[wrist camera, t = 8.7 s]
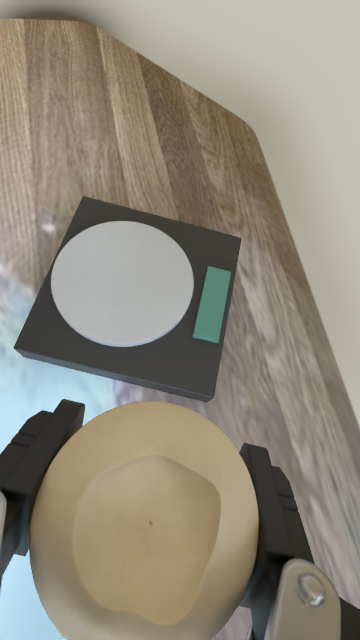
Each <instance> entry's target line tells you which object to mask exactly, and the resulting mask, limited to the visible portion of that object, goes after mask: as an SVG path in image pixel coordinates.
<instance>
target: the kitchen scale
mask: <svg viewBox="0 0 360 640" xmlns="http://www.w3.org/2000/svg"><path fill="white" fill-rule="evenodd" d="M240 244H241V238H239V237H236V236H232V235H228V234H224V233H220V232H217V231H213V230H209V229H205V228H202V227H198V226H194V225H190V224H186V223H183V222H179V221H175V220H171V219H168V218H164V217H160V216H156V215H153V214H149V213H145V212H141V211H137V210H134V209H130V208H126V207H122V206H119V205H115V204H111V203H107V202H103V201H100V200H96V199H92V198H88V197H85V196H83V198H82V200H81V202H80V204H79V207H78V209H77V211H76V213H75V215H74V217H73V220H72V222H71V224H70V226H69V228H68V231H67V233H66V235H65V237H64V239H63V241H62V244H61V246H60V248H59V250H58V252H57V254H56V257H55V259H54V261H53V263H52V265H51V268H50V270H49V272H48V274H47V276H46V278H45V281H44V283H43V285H42V287H41V289H40V291H39V294H38V296H37V298H36V300H35V302H34V305H33V307H32V309H31V311H30V313H29V315H28V318H27V320H26V322H25V324H24V326H23V329H22V331H21V333H20V335H19V337H18V339H17V342H16V344H15V346H14V349H15V350H16V351H18V352H19V353H20V354H21V355H22V356H23V357H27V358H31V359H35V360H39V361H43V362H47V363H51V364H55V365H59V366H63V367H67V368H71V369H75V370H79V371H83V372H87V373H91V374H95V375H99V376H103V377H107V378H111V379H115V380H119V381H123V382H127V383H131V384H135V385H139V386H144V387H148V388H152V389H156V390H160V391H164V392H168V393H172V394H176V395H180V396H184V397H188V398H192V399H196V400H200V401H204V402H208V401H210V400H211V399H212V398H213V397H214V393H215V387H216V381H217V375H218V370H219V364H220V358H221V352H222V347H223V341H224V335H225V330H226V324H227V318H228V312H229V307H230V301H231V295H232V289H233V284H234V278H235V272H236V266H237V261H238V255H239V249H240Z"/></svg>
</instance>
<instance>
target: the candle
mask: <svg viewBox="0 0 360 640" xmlns="http://www.w3.org/2000/svg"><path fill="white" fill-rule="evenodd" d="M258 537H259V515H258V505H257V500H256V494H255V490H254V486H253V483H252V480H251V477H250V474H249V472H248V470H247V467H246V465H245V463H244V461H243V459H242V457H241V456H240V454H239V452H238V450H237V449H236V447H235V446H234V445H233V444H232V442H231V441H230V440H229V438H228V437H227V436H226V435H225V434H224V433H223V432H222V431H221V430H220V429H219V428H218V427H217V426H216V425H215V424H213V423H212V422H211V421H210V420H208V419H207V418H205V417H203V416H202V415H200V414H199V413H197V412H195V411H193V410H190V409H188V408H186V407H183V406H180V405H176V404H173V403H167V402H160V401H144V402H135V403H130V404H126V405H122V406H119V407H116V408H114V409H111V410H109V411H106V412H105V413H103V414H101V415H99V416H97V417H95V418H94V419H92V420H91V421H90V422H88V423H87V424H85V425H84V426H83V427H82V428H80V429H79V430H78V431H77V432H76V433H75V434H74V435H73V436H72V437H71V438H70V439H69V440H68V441H67V442H66V443H65V445H64V446H63V447H62V448H61V449H60V451H59V452H58V454H57V455H56V457H55V458H54V460H53V461H52V463H51V464H50V466H49V468H48V470H47V472H46V474H45V476H44V478H43V480H42V483H41V485H40V488H39V490H38V493H37V496H36V500H35V504H34V507H33V511H32V518H31V524H30V537H29V551H30V564H31V569H32V574H33V579H34V584H35V587H36V589H37V592H38V595H39V598H40V601H41V603H42V605H43V607H44V609H45V611H46V613H47V615H48V616H49V618H50V620H51V621H52V622H53V624H54V625H55V627H56V628H57V629H58V631H59V632H60V633H61V634H62V635H63V636H64V637H65V638H66V639H67V640H211V639H212V638H213V637H214V636H215V635H216V634H217V633H218V632H219V631H220V630H221V628H222V627H223V626H224V625H225V624H226V623H227V622H228V620H229V619H230V617H231V616H232V614H233V613H234V611H235V610H236V608H237V607H238V605H239V603H240V601H241V599H242V597H243V595H244V593H245V591H246V589H247V586H248V583H249V581H250V578H251V575H252V572H253V568H254V564H255V560H256V556H257V547H258Z"/></svg>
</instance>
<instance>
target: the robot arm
mask: <svg viewBox="0 0 360 640" xmlns="http://www.w3.org/2000/svg"><path fill="white" fill-rule="evenodd" d="M84 411H85V404H83V403H79V402H74V401H70V400H66V399H63V400H61V402H60V403H59V405H58V406H57V407H56V409H55V410H54V412H53V413H52V412H47V411H43V410H42V411H41V412H39V413H37V414H36V415H34V416H32V417H31V418H29V419H28V420H27V421H26V423H25V424H24V425H23V426H22V428H21V429H20V430H19V432H18V433H17V434H16V435H15V437H14V438H13V439H12V440H11V443H10V444H8V445H7V447H6V448H5V449H4V451H3V452H2V453H1V454H0V594H1V586H2V578H3V574H4V572H5V570H6V568H7V566H8V564H9V562H10V560H11V558H12V557H13V555H14V554H18V555H22V556H26V554H27V552H28V550H29V537H30V524H31V518H32V511H33V507H34V504H35V500H36V496H37V493H38V490H39V488H40V485H41V483H42V480H43V478H44V476H45V474H46V472H47V470H48V468H49V466H50V464H51V463H52V461H53V460H54V458H55V457H56V455H57V454H58V452H59V451H60V449H61V448H62V447H63V446H64V445H65V443H66V442H67V441H68V440H69V439H70V438H71V437H72V436H73V435H74V434H75V433H76V432H77V431H78V430H79V429H80V428H82V424H83V417H84ZM239 454H240V456H241V457H242V459H243V461H244V463H245V465H246V467H247V470H248V472H249V474H250V477H251V480H252V483H253V486H254V490H255V494H256V500H257V505H258V515H259V537H258V547H257V556H256V560H255V564H254V568H253V572H252V575H251V578H250V581H249V583H248V586H247V589H246V591H245V593H244V595H243V597H242V599H241V601H240V603H239V605H238V606H242V607H246V608H250V609H251V616H252V624H251V626H250V628H249V630H248V633H247V637H246V640H360V609H358V608H356V607H354V606H353V605H351V604H349V603H348V602H346V601H345V600H343V599H342V598H340V597H339V596H338V594H337V591H336V589H335V587H334V585H333V584H332V582H331V581H330V579H329V578H328V577H327V576H326V574H325V573H324V572H323V571H322V570H321V569H319V568H318V567H317V566H316V565H315V563H314V560H313V557H312V554H311V550H310V547H309V544H308V541H307V537H306V534H305V531H304V528H303V524H302V521H301V518H300V515H299V512H298V508H297V505H296V502H295V500H294V495H293V492H292V489H291V485H290V482H289V480H288V479H287V478H286V476H285V475H284V473H283V472H282V470H281V469H280V468H279V467H275V466H272V465H271V461H270V457H269V454H268V450H267V449H266V448H264V447H260V446H255V445H251V444H247V443H244V444H243V446H242V448H241V450H240V452H239Z"/></svg>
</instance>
